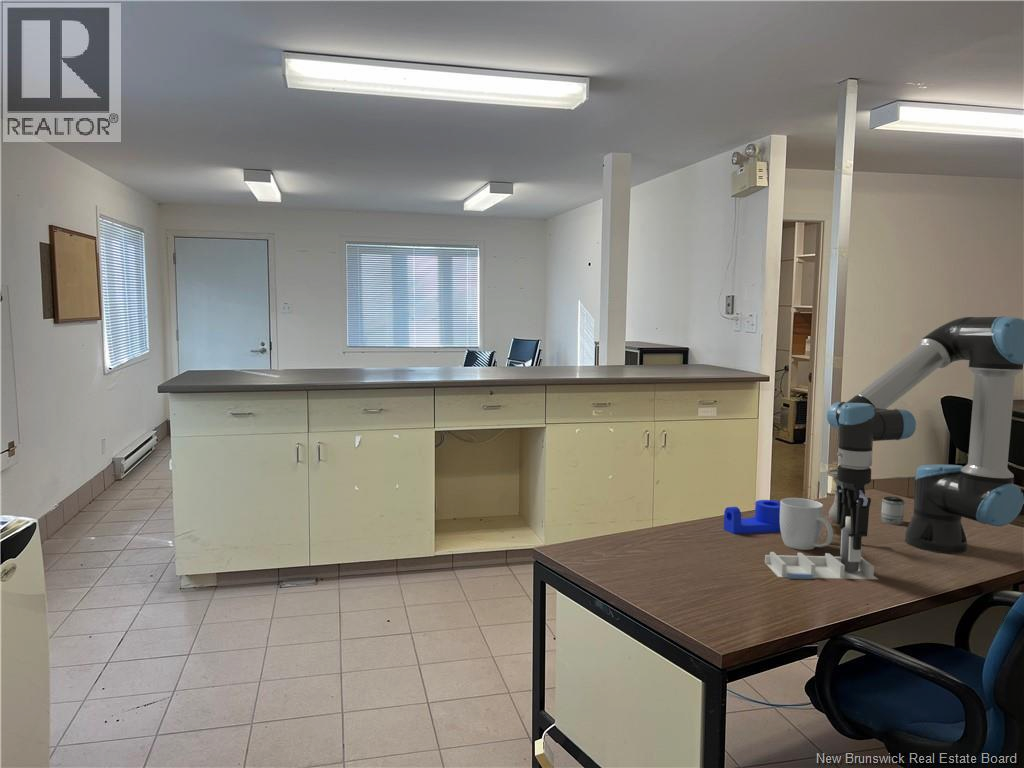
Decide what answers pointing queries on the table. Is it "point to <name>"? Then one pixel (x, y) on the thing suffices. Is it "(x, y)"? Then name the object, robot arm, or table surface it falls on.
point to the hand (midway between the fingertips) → (850, 557)
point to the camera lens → (892, 510)
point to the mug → (803, 523)
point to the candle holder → (834, 514)
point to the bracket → (754, 518)
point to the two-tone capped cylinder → (847, 547)
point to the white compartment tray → (816, 567)
